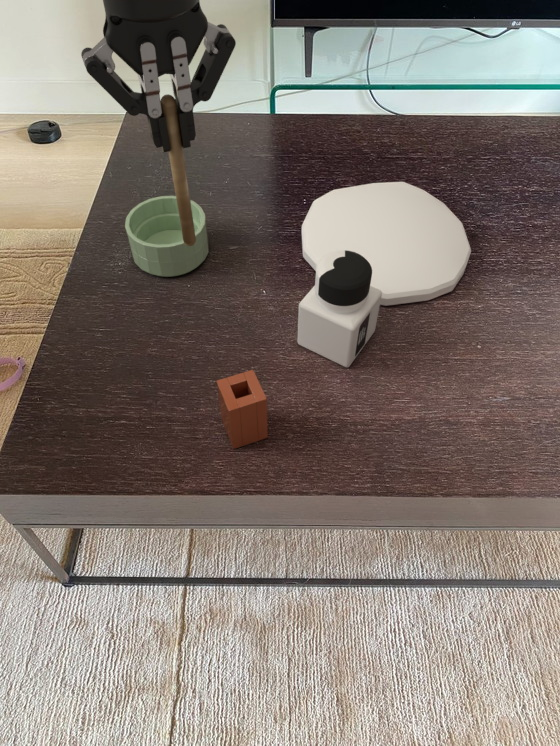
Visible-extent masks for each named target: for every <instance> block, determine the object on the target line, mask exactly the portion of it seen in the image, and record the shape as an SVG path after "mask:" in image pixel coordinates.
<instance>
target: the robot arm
mask: <svg viewBox="0 0 560 746" xmlns="http://www.w3.org/2000/svg"><path fill="white" fill-rule="evenodd" d="M102 3H103V8H104V12H105V19H104V24H103V28H102V33H103V38H102V39H101V40H100V41H99V42H98V43H96V44H95V45H94V46H93V47H85V48H83V49H82V50H81V53H80V55H81V59H82V62H83V64H84V67H85V69H86V72H87V73H88V75H89V76H90V77H92V78H93V80H95V82H97V84H99V85H100V86H101V88H102V89H103V90H104V91H106V93H107V94H108V95H109V96H110V97H112V99H113V100H114V101H116V103H118V104H119V106H120V107H122V108H123V110H124V111H126V113H127V114H129V115H130V116H133V117H136V116H138V115H145V116H146V119H147V124H148V130H149V135H150V138H151V140H152V142H153V144H154V147H155V148H157V149H158V148H160V149H161V151H162V153H169V151H171V149H170V143H169V137H168V131H167V124H166V118H165V115H164V113H163V112H162V109H161V95H160V94H161V87H160V80H159V78H160V77H162V76H164V75H169V76H170V77H169V78H170V84H171V88H172V94H173V97H174V98H175V100H176V106H177V114H178V121H179V128H180V135H181V142H182V147H183V149H188V148H191V146H192V145H191V141H195V139H196V136H197V134H196V133H197V132H196V125H195V117H194V107H195V106H196V105H197V104H199V103H200V102H208V101H210V99H211V98H212V96H213V94H214V92H215V90H216V88H217V85H218V84H219V81H220V79H221V77H222V75H223V74H224V71H225V69H226V66H227V65H228V62H229V60H230V58H231V56H232V54H233V52H234V50H235V48H236V43H237V42H236V39H235V37H234V36H233V35H232V33H231V32H230V31H229V28H227V26H226V25H225V24H222V23H219V24H218V25H215V24H213V23H211V22H209V21H208V19H207V16H206V14H205V13H204V12H203V9H202V6H201V3H200V0H102ZM202 42H203V47H204V52H203V54H202V56H201V59H200V60H199V63H198V65H197V68H196V70H195V72H194V73H193V77H192V79H191V74H190V67H189V66H190V64H191V63H192V61H193V59H194V57H195V56H196V53H197V51H198V50H199V47H200V45H201V44H202ZM113 53H114V54H115V55H116V56H118V57H119V58H120V59H121V60H122V61H123V62H124V63H125V65H127V66H128V67H129V68H130V69H131V70H132V71H133V72H134V73H135V74H137V77H138V81H139V86H140V88H139V89H140V92H137V91H134V90H133V88H131V87H130V85H128V84H127V83H126V81H124V80H123V78H121V77H120V76H119V74H118V73H117V72H116V71H115V70H116V64H115V61H114V58H113Z"/></svg>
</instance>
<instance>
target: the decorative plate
mask: <svg viewBox="0 0 560 746" xmlns="http://www.w3.org/2000/svg"><path fill="white" fill-rule="evenodd" d="M300 232H301V248H302V258H303V259H304V260H305V261H306V262H307V264H309V266H311V268H312V269H313V270H314V271H315V272H316V266H317V263H318V262H319V260H320V259H321V258H322V257H323V256H325V255H326V254H328V253H331V252H334V251H339V250H347V251H352V252H355V253H358V254H360V255H361V256H363V257H364V258H365V259H366V260H367V261H368V262H369V263H370V265H371V267H372V277H371V283H370V286H372V287H374V288H377V289H379V290H381V291H382V296H381V301H380V306H381V305H382V306H386V307H387V306H394V305H401V304H409V303H410V304H411V303H418V302H427V301H430V300H433V299H435V298H437V297H440V296H442V295H445V294H448V293H451V292H453V291H454V289H455V288H456V286H457V285H458V283H459V282H460V280H461V278H462V277H463V275H464V273H465V271H466V268H467V265H468V262H469V260H470V257H471V253H472V248H471V246H470V242H469V240H468V236H467V233H466V230H465V227H464V224H463V222H462V221H461V220H460V219H459V218H458V216H456V215H455V214H454V212H452V211H451V209H450V208H449V207H448V206H447V205H446V204H445V203H444V202H443V201H441V200H440V199H438V198H436V197H435V196H434V195H432V194H430V193H429V192H428V191H426V190H424V189H422V188H420V187H417V186H415V185H412V184H410V183H408V182H405V181H389V182H372V183H366V184H360V185H354V186H347V187H342V188H336V189H333V190H330V191H329V192H327V193H325V194H323V195H321V196H319V197H318V198H316V199H315V200H314V201H312V203H311V205H310V208H309V210H308V212H307V213H306V216H305V217H304V220H303V222H302V224H301V231H300Z"/></svg>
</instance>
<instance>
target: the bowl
mask: <svg viewBox="0 0 560 746" xmlns="http://www.w3.org/2000/svg"><path fill="white" fill-rule="evenodd" d="M190 202H191V209H192V216H193V222H194V229H195V236H196V242H195V244H194V245H192V246H187V245H186V244H185V243H184V241H183V236H182V230H181V224H180V218H179V212H178V206H177V200H176V195H160V196H156V197H152V198H149V199H145V200H144V201H142V202H139V203H138V204H136V205H135V206H134V207H133V208H132V209H130V210H129V213H128V214H127V216H126V217H125V221H124V229H125V232H126V237H127V241H128V245H129V249H130V252H131V253H130V254H131V256H132V259H133V262H134V264H135V265H136V266H137V267H138V268H139V269H140V270H142V271H143V272H145V273H148V274H150V275H154V276H157V277H165V278H168V277H169V278H170V277H171V278H172V277H178V276H182V275H185V274H187V273H190V272H192V271H193V270H195V269H197V268H198V267H199V266H200V265H201V264H202V263H204V261H205V260H206V258H207V256H208V254H209V253H210V251H209V250H210V249H209V247H210V243H209V235H208V234H209V233H208V227H207V217H206V214H205V212H204V210H203V207H201V206H200V205H199V204H198V203H197V202H196V201H194V200H192V199H190Z"/></svg>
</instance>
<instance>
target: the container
mask: <svg viewBox="0 0 560 746" xmlns="http://www.w3.org/2000/svg"><path fill="white" fill-rule="evenodd" d="M371 277H372V267H371V265H370V263H369V262H368V261H367V260H366V259H365V258H364V257H363V256H361V255H360V254H358V253H355V252H352V251H347V250H339V251H334V252H331V253H328V254H326V255H325V256H323V257H322V258H321V259H320V260H319V262H318V263H317V266H316V271H315V280H314V286H313V287H311V289H310V290H309V291H308V293H306V295H305V296H304V297H303V298H302V300H301V301H300V302H299V303H298V314H297V315H298V318H297V338H296V339H297V342H296V343H297V345H299V346H301V347H303V348H304V349H307V350H309V351H311V352H312V353H313V352H314V353H316V354H318V355H320V356H321V357H324V358H326V359H328V360H330V361H332V362H334V363H336V364H338V365H340V366H342V367H344V368H350V366H351V365H352V363H353V362H354V361H355V359H356V358H357V357H358V355H359V354H360V352H361V351H362V350H363V349H364V347H365V345H366V344H367V343H368V342H369V340H370V339H371V337H372V336H373V334H374V333H375V331H376V327H377V321H378V316H379V311H380V306H381V305H380V301H381V296H382V291H381V290H379V289H377V288H374V287H372V286H370V283H371Z"/></svg>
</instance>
